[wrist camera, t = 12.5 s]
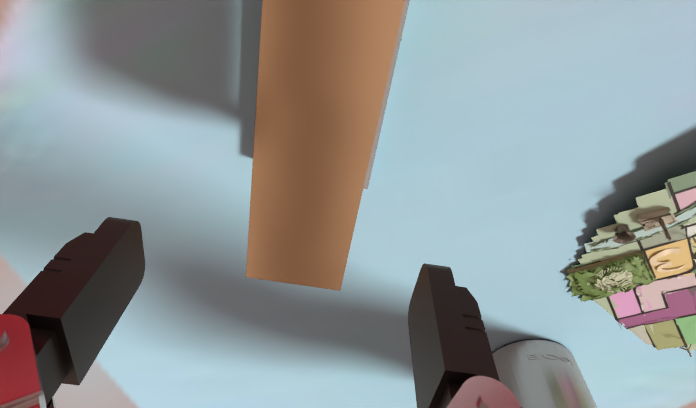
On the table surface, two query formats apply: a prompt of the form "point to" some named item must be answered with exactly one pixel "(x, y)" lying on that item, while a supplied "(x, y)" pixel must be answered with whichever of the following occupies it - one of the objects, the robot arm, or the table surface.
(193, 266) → the table surface
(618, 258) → the city model
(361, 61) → the brown wooden block
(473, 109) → the table surface
